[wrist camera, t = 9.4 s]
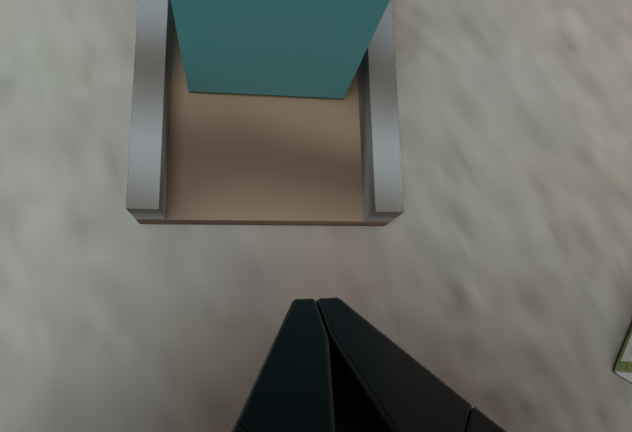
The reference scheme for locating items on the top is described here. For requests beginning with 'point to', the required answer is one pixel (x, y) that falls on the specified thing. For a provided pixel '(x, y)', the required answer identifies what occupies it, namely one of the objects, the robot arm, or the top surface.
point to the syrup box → (625, 359)
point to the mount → (260, 143)
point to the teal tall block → (274, 44)
